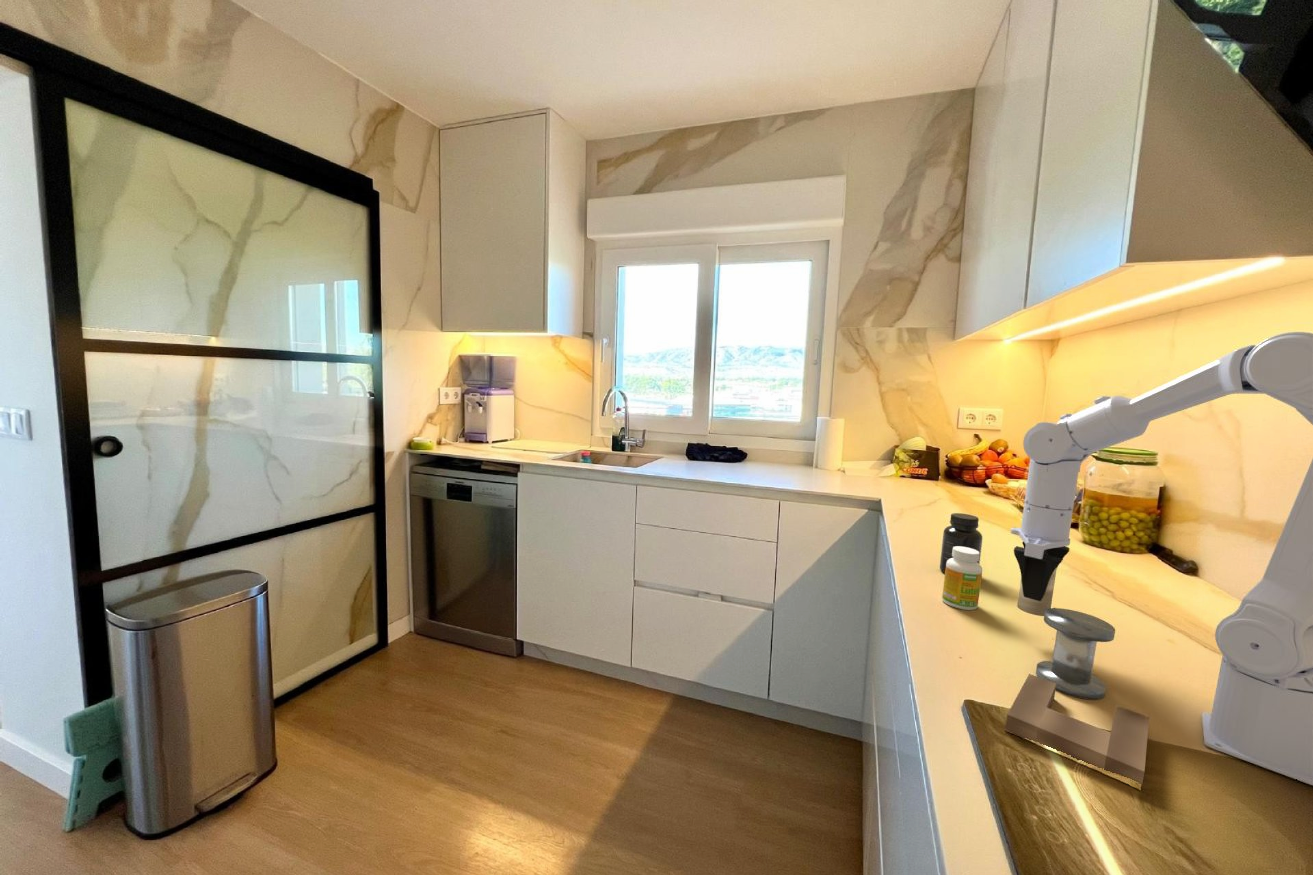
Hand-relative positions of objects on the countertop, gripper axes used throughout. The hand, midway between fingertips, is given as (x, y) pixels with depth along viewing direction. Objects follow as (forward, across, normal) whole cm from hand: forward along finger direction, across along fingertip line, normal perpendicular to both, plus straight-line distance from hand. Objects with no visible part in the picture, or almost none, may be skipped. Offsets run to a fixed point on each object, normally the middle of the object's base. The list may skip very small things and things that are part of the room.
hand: (1035, 594), depth 78 cm
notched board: (+7, +22, +8) cm, 24 cm away
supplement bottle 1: (+7, -22, -16) cm, 28 cm away
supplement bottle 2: (+7, -6, -11) cm, 15 cm away
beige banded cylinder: (+2, 0, 0) cm, 2 cm away
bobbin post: (+7, +10, +6) cm, 14 cm away
